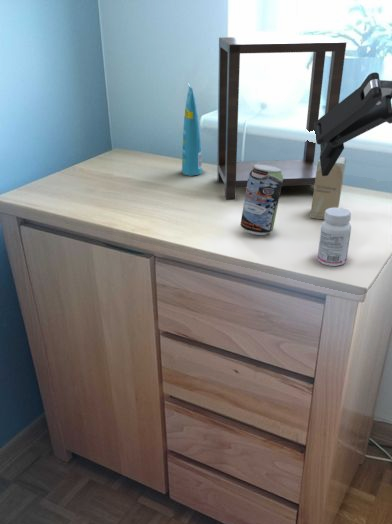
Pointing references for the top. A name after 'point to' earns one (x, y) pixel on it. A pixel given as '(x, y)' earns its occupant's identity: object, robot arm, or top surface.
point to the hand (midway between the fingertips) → (373, 164)
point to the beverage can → (261, 199)
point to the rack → (228, 99)
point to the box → (327, 188)
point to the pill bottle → (334, 237)
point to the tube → (191, 138)
